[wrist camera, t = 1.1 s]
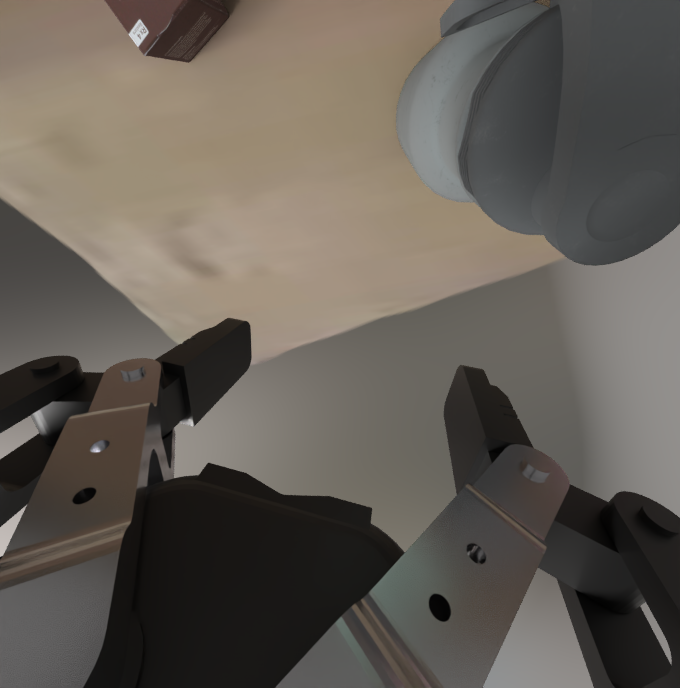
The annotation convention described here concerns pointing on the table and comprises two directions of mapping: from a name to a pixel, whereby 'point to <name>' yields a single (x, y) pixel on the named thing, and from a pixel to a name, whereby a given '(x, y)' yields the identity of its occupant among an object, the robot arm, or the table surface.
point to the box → (170, 25)
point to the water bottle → (554, 120)
